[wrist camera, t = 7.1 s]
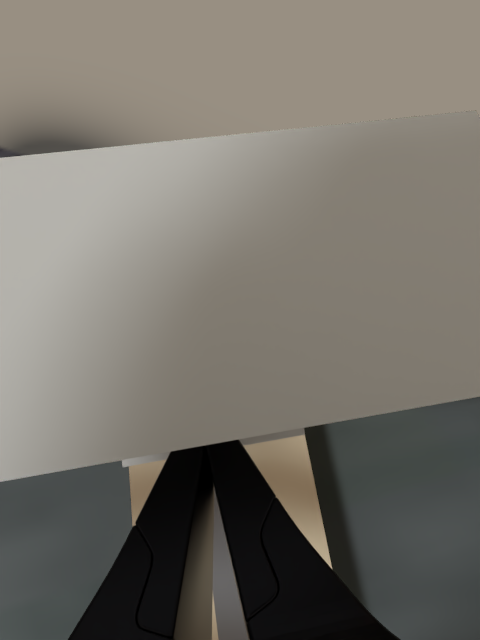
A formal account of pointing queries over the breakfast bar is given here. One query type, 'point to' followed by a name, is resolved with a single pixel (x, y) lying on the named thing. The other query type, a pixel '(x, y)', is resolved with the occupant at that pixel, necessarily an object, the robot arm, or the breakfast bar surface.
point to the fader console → (289, 487)
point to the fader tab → (234, 288)
